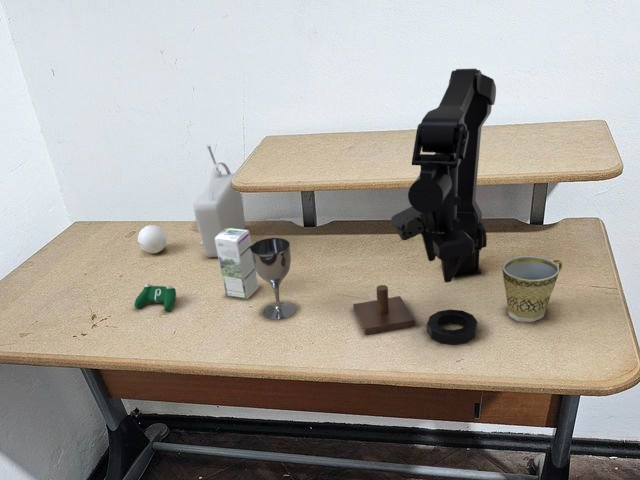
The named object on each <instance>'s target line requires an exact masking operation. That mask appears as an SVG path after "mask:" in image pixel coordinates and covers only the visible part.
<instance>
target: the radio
mask: <svg viewBox="0 0 640 480" xmlns="http://www.w3.org/2000/svg"><path fill="white" fill-rule="evenodd" d="M206 148H207V149H208V152H209V155H210V157H211V160H212V163H213V165H214V166H213V167H212V170H211V172H210V176H209V182H208V183H207V184H206V186H205V188H204V189H203V190H202V191H201V193H199V195H198V196H197V197H196V200H195V201H194V203H193V213H194V217H195V221H196V225H197V228H198V233H199V236H200V239H201V240H200V241H199V245H200V247H202V248H203V250H204V254H205V257H207V258H218V253H217V248H216V244H215V237H216V236H217V235H218V234H219V233H221V232H222V231H223V230H225V229H227V228H231V229H242V230H246V219H245V213H244V203H243V195H242V192H241V193H240V192H236V191H234V190H232V188H231V186H230V182H231V180H232V178H233V176H234V175H235V174H236V173H232V172H231V171H230V169H229V167H228V166H227V164H226V163H225V162H217V161H216V159H215V156H214V153H213V151H212V148H211V144H209V143H207V144H206ZM219 165H221V166H222V167H223V168H224V170H225V172H226V173H222V171H221V170H219Z"/></svg>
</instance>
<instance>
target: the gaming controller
mask: <svg viewBox="0 0 640 480" xmlns="http://www.w3.org/2000/svg"><path fill="white" fill-rule="evenodd" d="M176 299H177V290H176V288H175V286H173V285H169V284H167V285H166V286H163V285H153V284H151V283H145V286H144V287H143V289H142V290H141V292H140V293H139V294H138V295H137V297H136V299H135V300H134V307H135V308H136V309H141V308H143V307H144V306H146V304H148V303H149V302H150V303H160V304H163V308H164V311H165V312H170V311H171V310H172V308H173V307H174V304H175V302H176Z"/></svg>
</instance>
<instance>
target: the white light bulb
mask: <svg viewBox="0 0 640 480" xmlns="http://www.w3.org/2000/svg"><path fill="white" fill-rule="evenodd" d="M166 235H167V234H166V232H165V231H164V230H163V228H161V227H160V226H158V225H155V224H154V225H153V224H148V225H146V226H144V227H143V228H142V229H140V231H139V233H138V236H137V244H138V245H139V247H140V249H142V250H143V251H144V252H145V253H148V254H158V253H160V252H162V251H163V250H164V249H165V247H166V245H167V240H168V239H167V236H166ZM133 241H135V239H132V240H131V242H133ZM128 242H129V243H130V240H127V243H128Z"/></svg>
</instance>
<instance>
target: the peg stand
mask: <svg viewBox="0 0 640 480" xmlns="http://www.w3.org/2000/svg"><path fill="white" fill-rule="evenodd" d="M352 305H353V312H354V314H355V316H356V319H357V321H358V323H359V324H360V327H361V329H362V330H363V334H364V335H365V336H367V335H373V334H379V333H384V332H385V333H386V332H390V331H396V330H400V329H401V330H402V329H408V328H412V327H415V326H416V319H415V318H414V316H413V314H412V313H411V311H410V309H409V308H408V306H407V304H406V303H405V302H404V299H402V297H401V296H400V295H397V296H391V297H389V287H388V285H386V284H380V285H377V286H376V299H374V300H370V301H363V302H358V303H353V304H352Z"/></svg>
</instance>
